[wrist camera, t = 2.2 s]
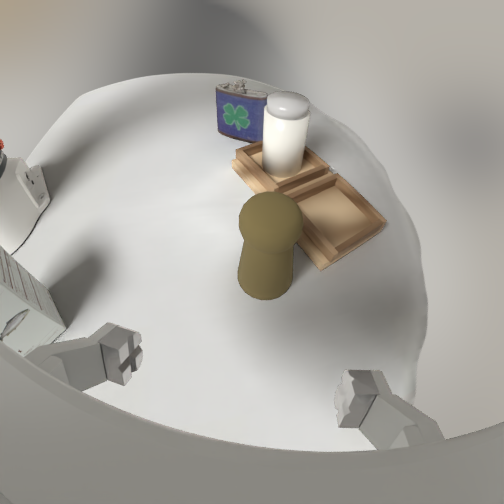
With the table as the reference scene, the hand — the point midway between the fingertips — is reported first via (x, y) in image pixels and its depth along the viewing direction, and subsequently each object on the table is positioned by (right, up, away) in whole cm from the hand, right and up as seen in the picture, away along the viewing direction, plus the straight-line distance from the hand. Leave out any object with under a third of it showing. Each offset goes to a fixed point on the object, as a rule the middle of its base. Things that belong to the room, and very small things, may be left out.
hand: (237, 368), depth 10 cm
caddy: (+8, +12, +26) cm, 30 cm away
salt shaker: (+5, +17, +27) cm, 33 cm away
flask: (-1, +24, +34) cm, 42 cm away
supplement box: (-26, -5, +16) cm, 31 cm away
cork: (+2, +2, +20) cm, 20 cm away
